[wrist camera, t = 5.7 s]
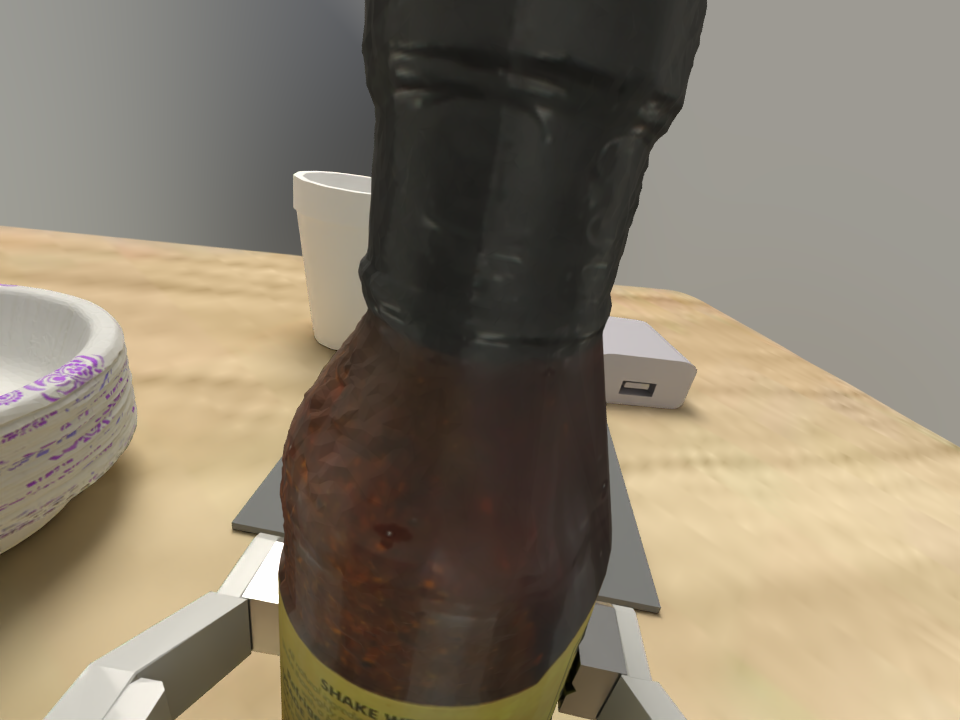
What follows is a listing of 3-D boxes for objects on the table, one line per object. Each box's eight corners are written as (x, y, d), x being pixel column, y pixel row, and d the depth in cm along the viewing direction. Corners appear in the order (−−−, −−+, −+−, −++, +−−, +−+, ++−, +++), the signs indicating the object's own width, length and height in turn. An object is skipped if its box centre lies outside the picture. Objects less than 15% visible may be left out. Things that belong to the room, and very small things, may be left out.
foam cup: (275, 348, 37) (270, 176, 31) (318, 308, 45) (320, 167, 39) (392, 369, 37) (408, 202, 31) (413, 326, 45) (430, 188, 39)
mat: (232, 528, 21) (231, 522, 21) (350, 370, 35) (351, 366, 35) (657, 613, 21) (660, 607, 21) (603, 420, 35) (605, 416, 35)
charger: (615, 338, 53) (679, 412, 39) (539, 329, 51) (579, 402, 38) (628, 300, 50) (701, 363, 37) (549, 289, 49) (595, 351, 36)
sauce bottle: (533, 894, 12) (1106, -12, 4) (283, 1026, 10) (195, -732, 1) (459, 654, 18) (620, 49, 9) (284, 701, 15) (269, -63, 7)
